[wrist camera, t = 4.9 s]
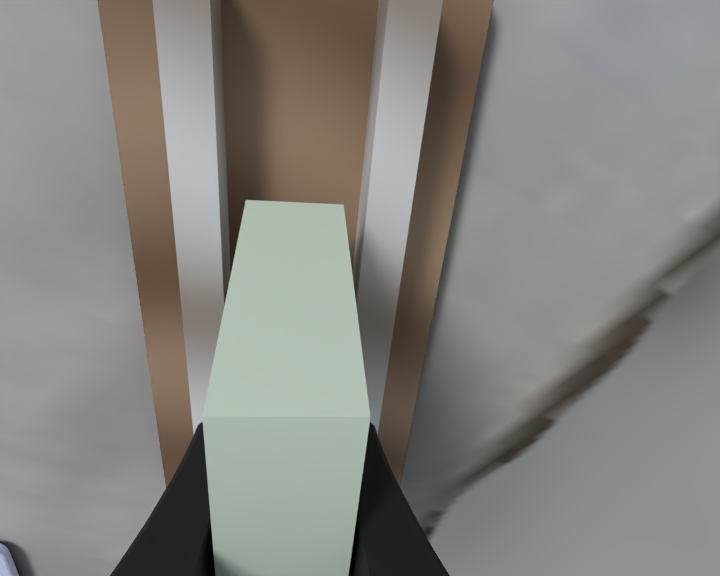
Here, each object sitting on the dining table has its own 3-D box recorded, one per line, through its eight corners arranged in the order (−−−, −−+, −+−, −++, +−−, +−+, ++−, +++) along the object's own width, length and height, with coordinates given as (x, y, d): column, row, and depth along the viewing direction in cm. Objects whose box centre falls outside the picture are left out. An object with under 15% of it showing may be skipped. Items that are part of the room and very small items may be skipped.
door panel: (322, 462, 16) (330, 707, 11) (250, 463, 16) (226, 712, 11) (343, 204, 12) (369, 417, 7) (245, 199, 12) (202, 416, 7)
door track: (396, 479, 21) (404, 530, 19) (170, 480, 20) (158, 535, 19) (486, -8, 13) (516, 7, 11) (101, -43, 12) (64, -35, 10)
